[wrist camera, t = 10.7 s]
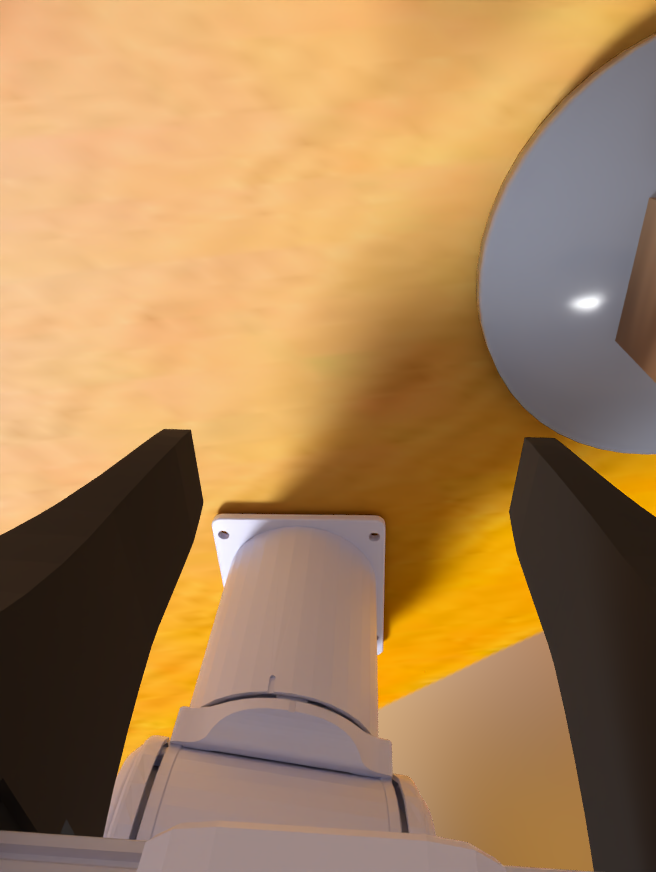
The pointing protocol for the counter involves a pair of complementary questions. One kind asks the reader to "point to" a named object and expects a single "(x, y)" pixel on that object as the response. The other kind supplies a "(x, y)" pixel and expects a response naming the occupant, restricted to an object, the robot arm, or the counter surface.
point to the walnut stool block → (642, 300)
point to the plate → (576, 259)
